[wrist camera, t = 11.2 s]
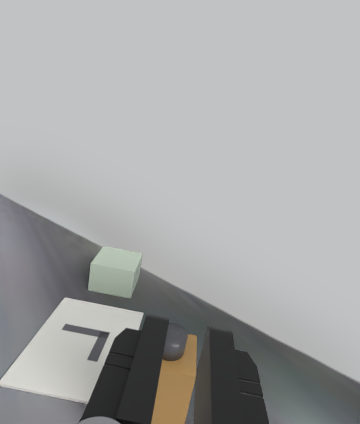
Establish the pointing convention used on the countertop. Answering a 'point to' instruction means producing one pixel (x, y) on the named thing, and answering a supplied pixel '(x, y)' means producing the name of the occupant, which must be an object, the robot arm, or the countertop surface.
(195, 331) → the countertop surface
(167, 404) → the reagent bottle
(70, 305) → the letter
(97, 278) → the sage block
